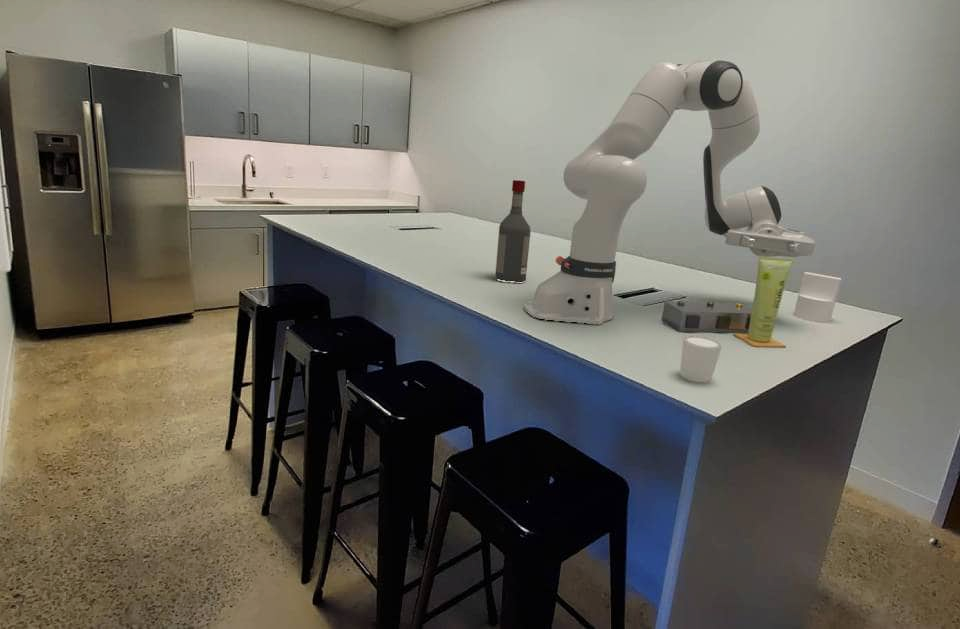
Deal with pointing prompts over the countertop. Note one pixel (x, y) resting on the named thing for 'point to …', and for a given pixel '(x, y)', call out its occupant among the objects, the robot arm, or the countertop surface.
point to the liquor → (513, 240)
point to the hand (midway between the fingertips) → (771, 245)
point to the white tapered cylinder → (699, 358)
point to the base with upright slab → (817, 297)
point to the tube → (768, 296)
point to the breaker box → (707, 316)
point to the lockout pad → (759, 344)
